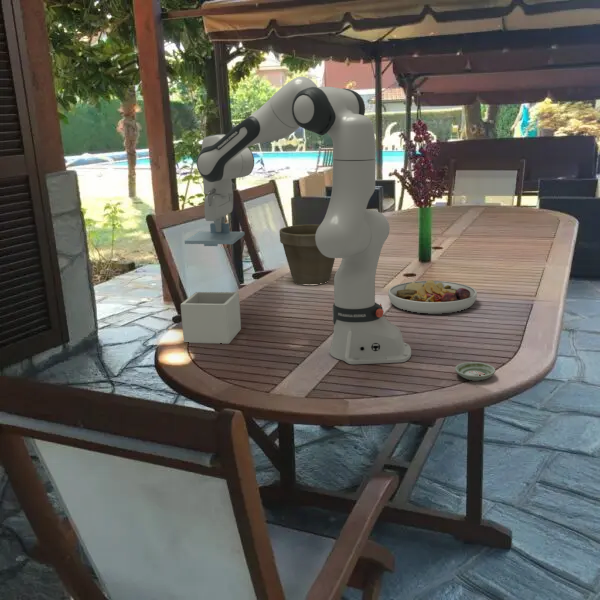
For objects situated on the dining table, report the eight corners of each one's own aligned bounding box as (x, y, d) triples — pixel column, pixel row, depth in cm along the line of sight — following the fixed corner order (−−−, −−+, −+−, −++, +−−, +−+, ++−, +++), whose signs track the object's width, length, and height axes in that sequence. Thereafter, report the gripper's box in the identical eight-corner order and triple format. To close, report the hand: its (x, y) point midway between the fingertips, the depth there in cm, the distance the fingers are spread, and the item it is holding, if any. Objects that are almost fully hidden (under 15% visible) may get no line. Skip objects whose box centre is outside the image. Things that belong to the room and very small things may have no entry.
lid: (244, 237, 207) (244, 222, 205) (232, 247, 193) (232, 231, 191) (200, 237, 209) (199, 222, 208) (185, 247, 195) (183, 230, 193)
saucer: (468, 367, 166) (469, 358, 165) (502, 376, 159) (503, 367, 158) (446, 378, 159) (447, 369, 159) (481, 388, 153) (481, 379, 152)
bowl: (371, 307, 223) (370, 285, 221) (418, 289, 244) (418, 269, 242) (447, 322, 203) (448, 298, 201) (492, 302, 224) (493, 280, 222)
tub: (241, 329, 203) (238, 292, 200) (228, 343, 190) (226, 304, 187) (198, 328, 206) (195, 292, 203) (183, 342, 193) (180, 304, 189)
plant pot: (355, 281, 258) (354, 228, 252) (306, 292, 244) (304, 236, 238) (316, 271, 278) (315, 222, 272) (269, 281, 263) (267, 229, 258)
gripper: (218, 191, 191) (221, 236, 195) (235, 183, 211) (237, 225, 214) (197, 191, 192) (201, 236, 196) (217, 184, 212) (219, 225, 215)
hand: (220, 230), depth 205 cm, fingers closed on lid
